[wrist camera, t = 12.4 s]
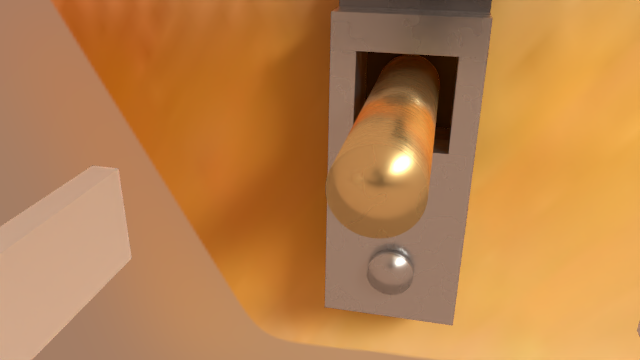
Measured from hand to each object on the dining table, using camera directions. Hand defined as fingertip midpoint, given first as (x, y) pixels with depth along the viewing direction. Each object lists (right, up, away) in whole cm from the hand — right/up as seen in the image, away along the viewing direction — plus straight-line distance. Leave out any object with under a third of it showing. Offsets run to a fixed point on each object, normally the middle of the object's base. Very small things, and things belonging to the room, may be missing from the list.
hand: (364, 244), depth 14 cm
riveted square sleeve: (+4, +7, +16) cm, 18 cm away
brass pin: (+4, +7, +16) cm, 18 cm away
